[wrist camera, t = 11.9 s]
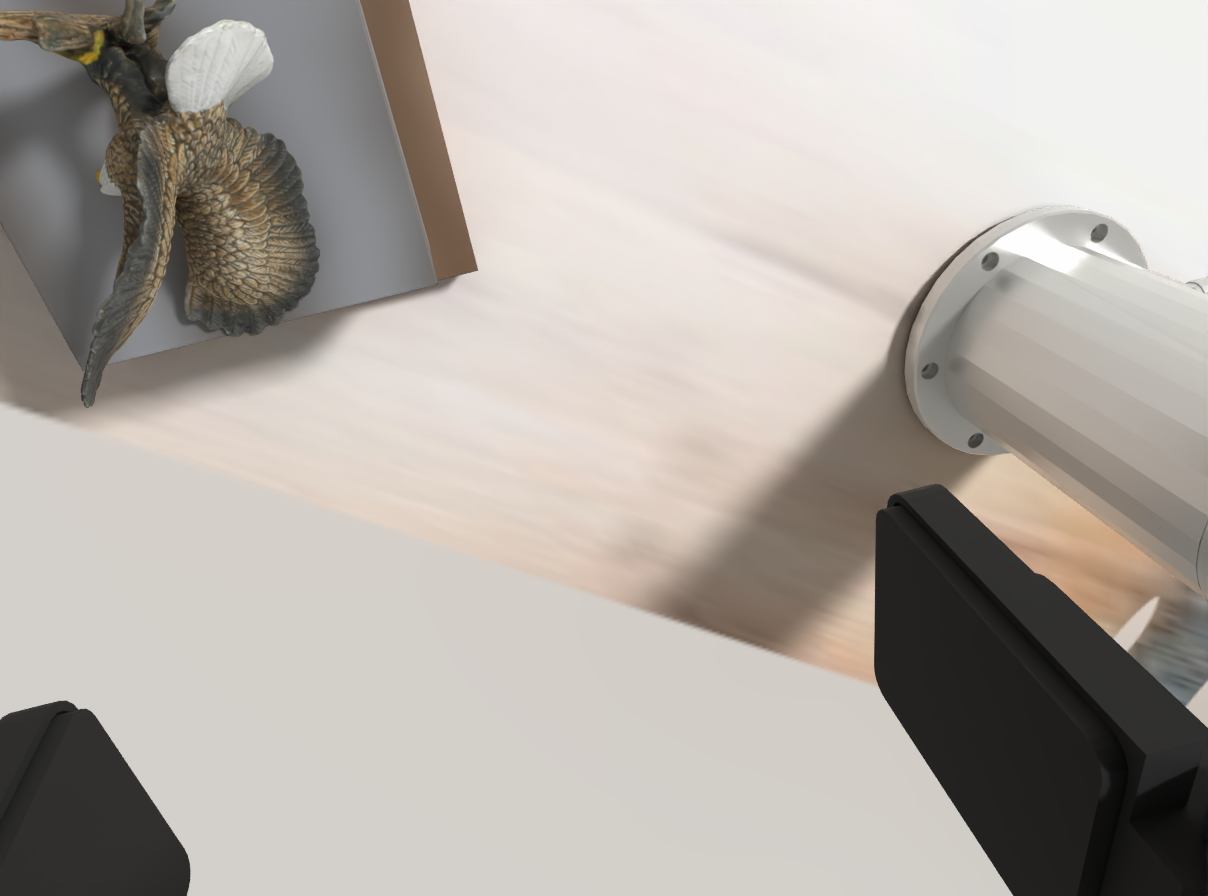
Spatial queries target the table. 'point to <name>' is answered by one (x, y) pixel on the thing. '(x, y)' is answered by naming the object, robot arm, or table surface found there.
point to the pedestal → (276, 104)
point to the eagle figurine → (186, 172)
